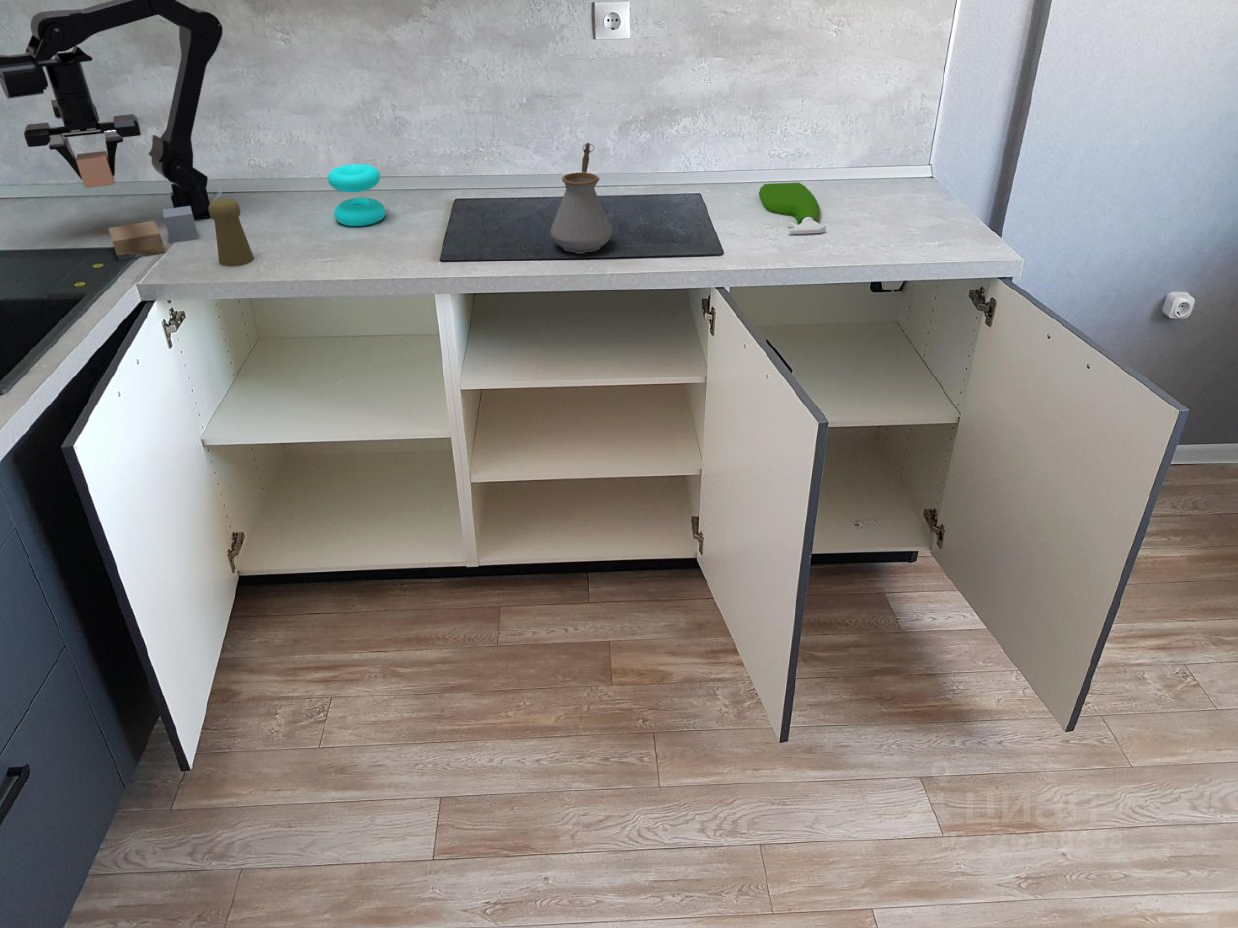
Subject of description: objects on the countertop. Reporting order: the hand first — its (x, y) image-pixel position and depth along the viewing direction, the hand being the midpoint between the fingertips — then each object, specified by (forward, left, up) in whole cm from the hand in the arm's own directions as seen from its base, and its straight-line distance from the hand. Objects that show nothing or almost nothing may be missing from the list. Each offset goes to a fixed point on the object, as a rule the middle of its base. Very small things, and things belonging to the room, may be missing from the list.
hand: (98, 177), depth 178 cm
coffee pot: (-82, +41, -11) cm, 92 cm away
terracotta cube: (0, 0, -1) cm, 1 cm away
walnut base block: (-4, +12, -11) cm, 17 cm away
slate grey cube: (-12, +8, -11) cm, 18 cm away
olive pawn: (-20, +25, -11) cm, 34 cm away
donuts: (-45, +13, -11) cm, 48 cm away
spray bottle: (-125, +47, -12) cm, 134 cm away
